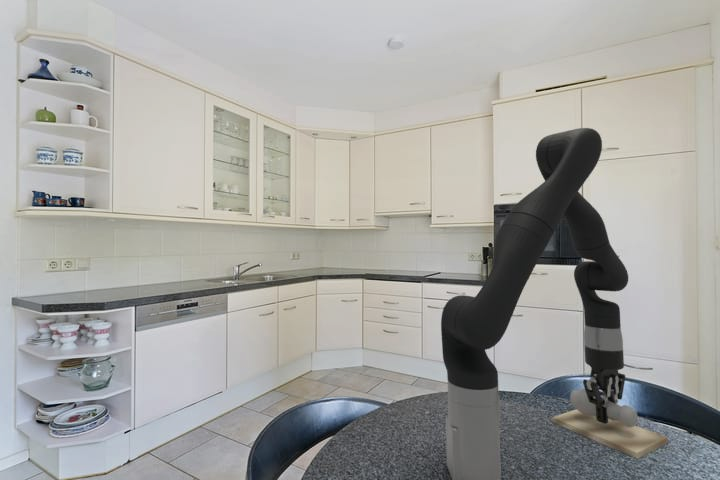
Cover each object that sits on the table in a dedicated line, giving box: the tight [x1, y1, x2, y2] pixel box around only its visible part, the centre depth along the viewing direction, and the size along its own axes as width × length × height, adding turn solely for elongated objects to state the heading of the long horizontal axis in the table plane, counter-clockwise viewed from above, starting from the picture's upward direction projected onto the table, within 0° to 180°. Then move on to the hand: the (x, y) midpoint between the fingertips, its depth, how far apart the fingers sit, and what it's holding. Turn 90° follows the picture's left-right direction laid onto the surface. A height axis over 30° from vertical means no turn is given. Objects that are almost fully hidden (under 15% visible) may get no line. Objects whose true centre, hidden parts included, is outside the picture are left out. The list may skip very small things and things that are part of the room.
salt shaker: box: [569, 388, 639, 427], centre depth 82 cm, size 6×6×13 cm
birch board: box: [552, 408, 669, 460], centre depth 81 cm, size 18×13×1 cm
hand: (606, 420), depth 81 cm, fingers closed on salt shaker, 3 cm apart
